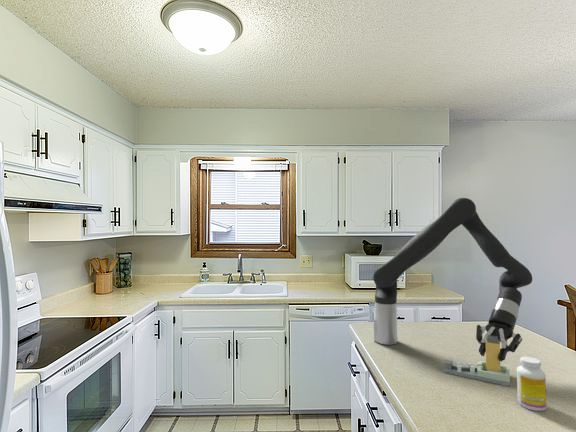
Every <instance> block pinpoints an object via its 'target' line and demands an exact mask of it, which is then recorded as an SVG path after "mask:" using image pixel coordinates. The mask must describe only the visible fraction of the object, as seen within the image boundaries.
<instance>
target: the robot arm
mask: <svg viewBox="0 0 576 432" xmlns="http://www.w3.org/2000/svg"><path fill="white" fill-rule="evenodd" d="M460 225H461V226H463V227H464V229H465V230H467V232H469V234H470V235H471V236H472V238H473V239H474V240H475V242H476V243H477V244H476V245H478V246H479V248H480V249H481V251H482V252H483V254H484V255H485V256H486V257H487V259H488V260H489V262H490V263H491V264H492V266H493V267H495V268H503V269H505V271H504V272H503V273H501V275H500V276H499V283H498V284H499V285H498V286H499V287H498V289H499V293H498V296H497V298H496V301H495V302H494V305H493V308H492V311H491V313H490V316H489V319H488V323H487V325H485V326H482V325H480V324H477V325H476V334H475V335H476V336H475V339H476V341H477V342H478V344H480V346H479V348H478V353H479V355H480V356H481V357H485V356H486V344H485V342H486V339H487V335H491V336H498V341H500V344H501V347H500V352H499V355H498V360H499V361H500V363H501V362H503V361H505V360H506V357H507V353H508V352H511V353H515V352H516V350H517V349H518V347H519V346H520V344H521V343H522V341H523V338H522V336H521V334H520V333H516V332H514V329H515V328H516V327H515V326H516V322H517V319H518V318H519V313H520V311H519V310H520V306H521V302H522V299H523V295H522V292H521V291H520V290H518V289H519V288H523V287H526V286H529V285H530V284H532V282H533V275H532V272H531V271H530V269H528V268H527V267H526V266H525V265H524V264H522V263H521V262H520V261H519V260H518V259H516V258H515V257H514V256H512V255H511V254H510V252H509V251H508V250H507V248H506V247H505V246H504V245H503V244H502V242H501V241H500V240H499V239H498V238H497V237H496V236H495V235H494V234H493V233H492V231H490V229H489V228H488V227H487V226H486V225H485V224H484V222H483V221H482V219H481V218H480V216H479V214H478V212H477V207H476V204H475V202H474V201H473V200H472V199H470V198H468V197H460V198H457V199H456V200H454V201H453V202H451V204H450V205H448V207H447V208H446V210H444V212H443V213H441V215H440V216H439V217H438V218H436V219H434V221H432V222H431V223H429V224H427V226H425V227H424V228H422V229H421V230H419V232H418V233H416V234H415V235H414V236H413V237H411V239H409V241H407V243H405V245H403V247H401V249H399V251H398V252H397V253H396V254H395V255H394V256H393V257H392V258H391V259H389V260H388V261H386V262H385V263H384V264H383V265H380V266H379V267H377V268H376V269H375V270H374V271H373V274H372V275H373V277H372V279H373V282H374V284H375V294H374V315H375V316H374V319H373V341H374V342H376V343H378V344H381V345H385V346H386V345H387V346H389V345H390V346H393V345H396V344H398V338H399V337H398V309H397V308H398V307H397V304H398V303H397V299H398V279H399V278H400V277H401V276H402V275H403V274H404V273H405V272H406V271H407V270H409V269H410V268H412V267H413V266H414V265H416V264H418V263H419V262H420V261H422V260H423V259H425V258H426V257H427V256H429V255H430V254H431V253H433V251H434V250H435V249H436V248H437V247H438V246H440V244H441V243H442V242H443V241H444V240H445V239H446V238H447V237H448V236H449V235H450V234H451V232H453V231H454V230H455V229H456V228H458V227H459V226H460ZM485 331H486V333H485ZM483 334H484V337H483ZM511 338H512V340H511V342H510V343H508V340H509V339H511Z"/></svg>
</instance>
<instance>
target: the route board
mask: <svg viewBox="0 0 576 432" xmlns="http://www.w3.org/2000/svg"><path fill="white" fill-rule="evenodd" d="M500 367H501V369H500V372H497V371H491V370H486V361H484V360H482V361H481V360H478V362H477V363H476V364H472V363H470V362H467V363H466V362H461V361H457V360H450V359H444V360H443V371H444V373H445V374H450V375H454V376H455V375H456V376H460V377H464V378H469V379H473V380H479V381H484V382H488V383H493V384H498V385H502V386H506V387H511V375H510V373H511V372H510V370H511V369H510V366H509V365H504V364H500Z"/></svg>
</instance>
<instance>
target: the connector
mask: <svg viewBox="0 0 576 432" xmlns="http://www.w3.org/2000/svg"><path fill="white" fill-rule="evenodd" d="M485 344H486V352H485V362H486V370H491V371H497V372H500V369H501V367H500V365H501V361H499V360H498V355H499V352H500V349H501V345H500V344H501V342H500V341H498V336H491V335H487V339H486V342H485Z"/></svg>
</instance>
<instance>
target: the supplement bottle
mask: <svg viewBox="0 0 576 432" xmlns="http://www.w3.org/2000/svg"><path fill="white" fill-rule="evenodd" d="M520 364H521V365H519V366H517V368H516V388H517V390H516V391H517V392H516V394H517V402H518V403H519V405H520V406H521V407H523V408H525V409H527V410H531V411H536V412H543V411H545V410H547V407H548V406H547V404H548V403H547V386H546V385H547V384H546V383H547V381H546V380H547V378H546V374H545V372H544V371H543V370H542V369H541V367H542V365H541V364H542V362H541V360H540V359H538V358H535V357H531V356H521V357H520Z"/></svg>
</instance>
